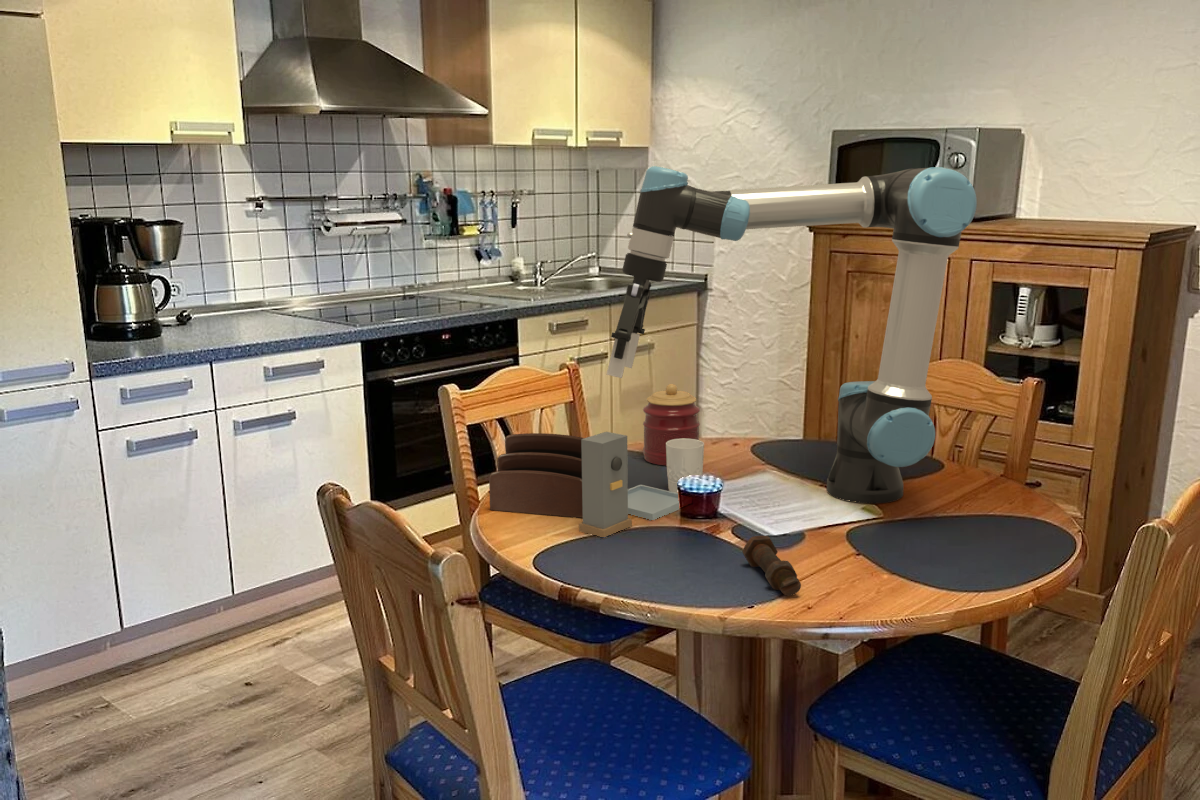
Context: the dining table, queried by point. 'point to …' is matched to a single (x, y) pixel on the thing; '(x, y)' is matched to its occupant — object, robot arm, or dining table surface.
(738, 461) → the dining table surface
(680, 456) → the white cup
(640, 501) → the tray
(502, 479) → the letter holder
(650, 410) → the canister
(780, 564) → the bolt
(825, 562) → the dining table surface
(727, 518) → the dining table surface
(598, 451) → the control box
